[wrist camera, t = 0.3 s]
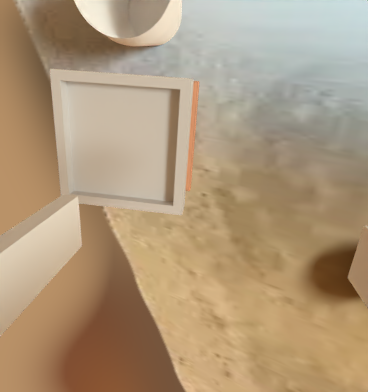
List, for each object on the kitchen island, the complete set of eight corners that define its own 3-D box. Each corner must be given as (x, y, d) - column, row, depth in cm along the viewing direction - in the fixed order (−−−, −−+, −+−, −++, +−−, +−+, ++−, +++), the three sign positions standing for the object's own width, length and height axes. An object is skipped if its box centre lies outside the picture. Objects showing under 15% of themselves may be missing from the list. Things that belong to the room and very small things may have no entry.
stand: (91, 74, 37) (49, 68, 28) (199, 81, 36) (191, 78, 27) (96, 177, 42) (61, 201, 33) (190, 187, 41) (181, 215, 32)
